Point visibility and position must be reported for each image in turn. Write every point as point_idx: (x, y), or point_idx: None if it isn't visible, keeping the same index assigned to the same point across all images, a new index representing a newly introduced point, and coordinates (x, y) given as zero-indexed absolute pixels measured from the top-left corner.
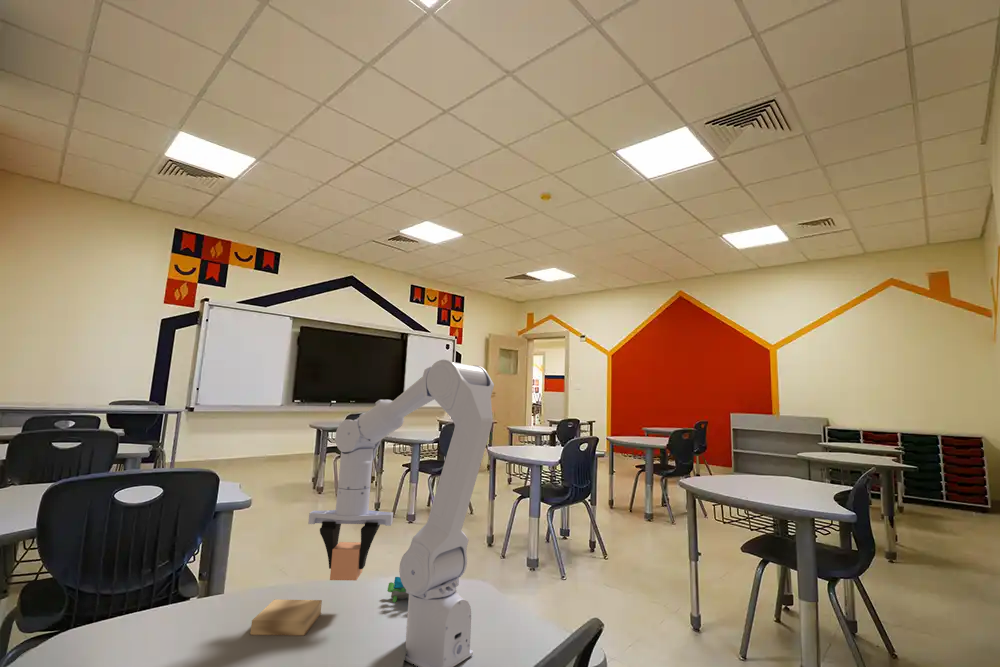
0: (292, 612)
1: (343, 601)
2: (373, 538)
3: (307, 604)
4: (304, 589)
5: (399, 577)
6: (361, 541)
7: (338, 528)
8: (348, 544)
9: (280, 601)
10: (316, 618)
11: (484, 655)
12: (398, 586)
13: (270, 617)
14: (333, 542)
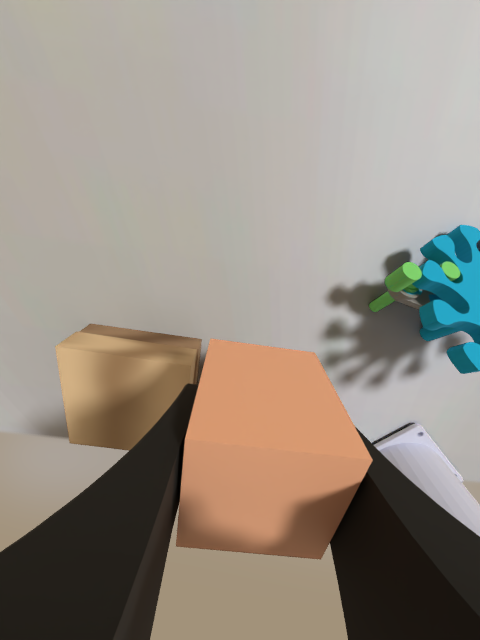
0: (140, 421)
1: (240, 215)
2: (455, 518)
3: (160, 385)
4: (71, 58)
5: (451, 323)
6: (347, 617)
7: (131, 638)
8: (257, 488)
9: (79, 360)
10: (194, 375)
11: (475, 476)
12: (429, 289)
13: (102, 436)
14: (162, 573)
